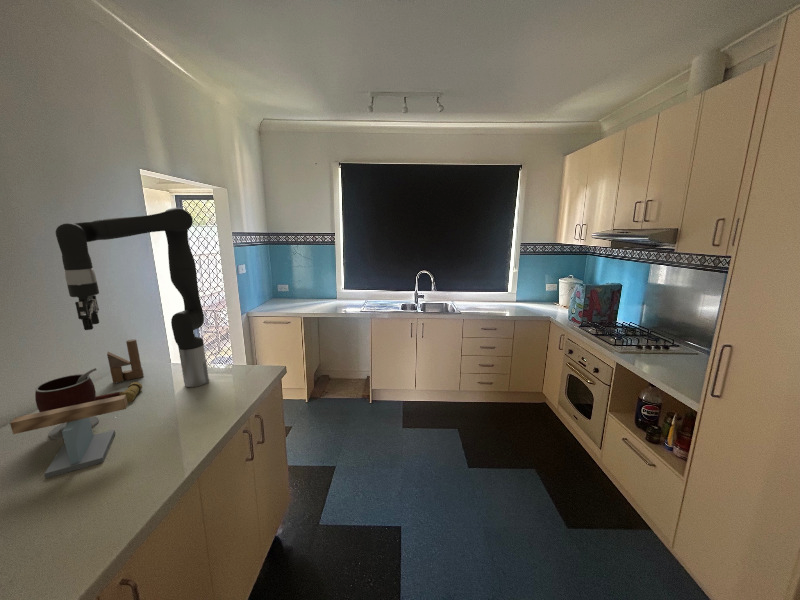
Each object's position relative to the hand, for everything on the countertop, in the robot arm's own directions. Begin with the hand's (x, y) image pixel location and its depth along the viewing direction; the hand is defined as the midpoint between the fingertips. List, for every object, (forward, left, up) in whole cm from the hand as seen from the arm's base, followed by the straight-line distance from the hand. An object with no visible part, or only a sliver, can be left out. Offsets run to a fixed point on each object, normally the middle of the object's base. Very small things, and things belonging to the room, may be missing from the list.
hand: (92, 326), depth 115 cm
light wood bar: (+1, +29, -21) cm, 35 cm away
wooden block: (-1, -30, -33) cm, 45 cm away
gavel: (+3, -10, -34) cm, 35 cm away
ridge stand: (+1, +29, -33) cm, 44 cm away
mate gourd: (+7, +9, -33) cm, 35 cm away
